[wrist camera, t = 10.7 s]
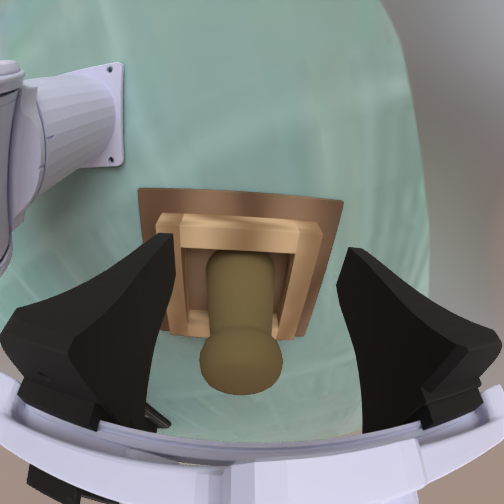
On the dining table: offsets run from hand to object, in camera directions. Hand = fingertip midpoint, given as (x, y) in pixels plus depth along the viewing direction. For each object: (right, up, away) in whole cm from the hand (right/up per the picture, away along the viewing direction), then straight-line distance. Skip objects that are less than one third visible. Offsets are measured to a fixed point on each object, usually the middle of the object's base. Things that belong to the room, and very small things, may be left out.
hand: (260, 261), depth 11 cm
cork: (-1, -1, +13) cm, 13 cm away
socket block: (-2, -2, +14) cm, 14 cm away
